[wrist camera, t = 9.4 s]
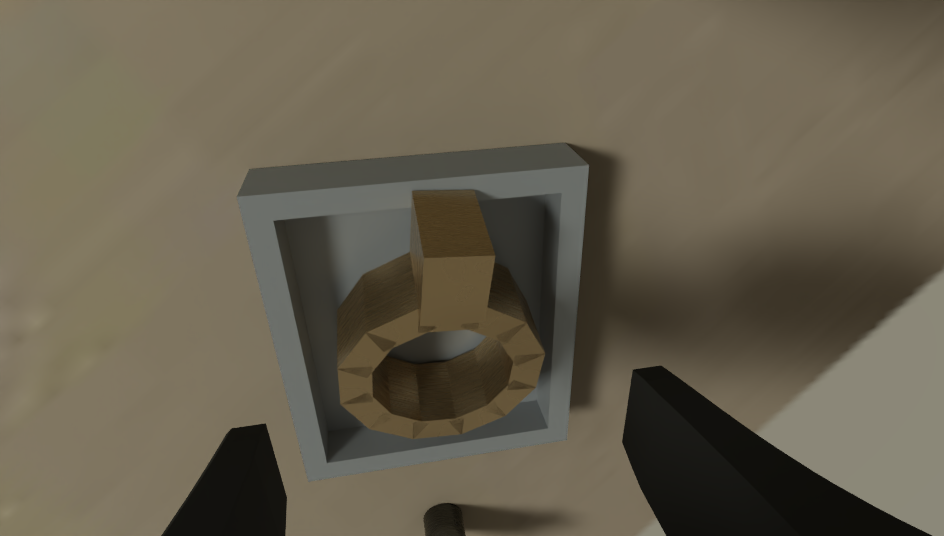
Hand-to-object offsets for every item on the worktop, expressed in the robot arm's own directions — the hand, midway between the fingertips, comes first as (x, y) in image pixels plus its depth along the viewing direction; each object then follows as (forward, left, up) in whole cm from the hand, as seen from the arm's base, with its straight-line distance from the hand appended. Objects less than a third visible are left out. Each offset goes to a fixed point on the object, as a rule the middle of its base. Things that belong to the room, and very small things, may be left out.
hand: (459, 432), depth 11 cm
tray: (0, -3, -9) cm, 10 cm away
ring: (0, -2, -8) cm, 8 cm away
